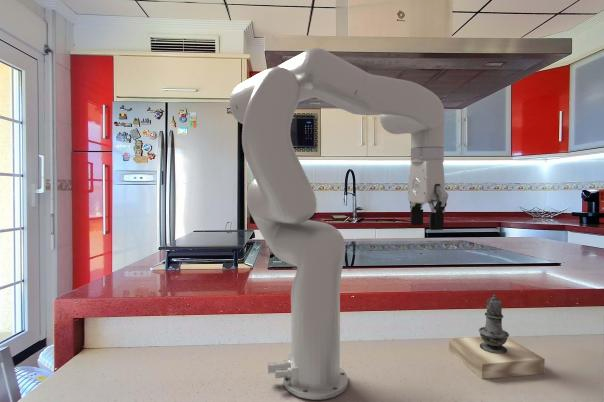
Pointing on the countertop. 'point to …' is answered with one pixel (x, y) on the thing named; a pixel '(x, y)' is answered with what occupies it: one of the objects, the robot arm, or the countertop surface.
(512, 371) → the birch base block
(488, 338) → the weathered stone finial
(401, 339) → the countertop surface
